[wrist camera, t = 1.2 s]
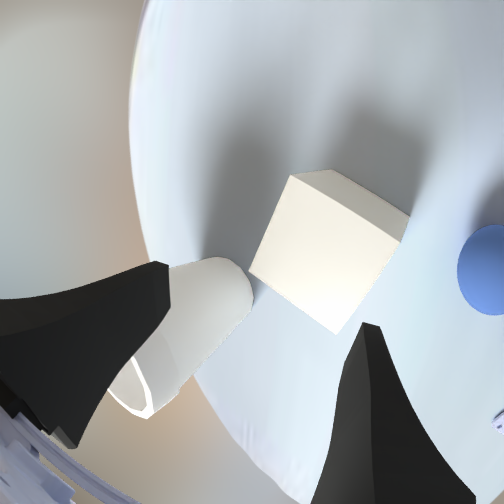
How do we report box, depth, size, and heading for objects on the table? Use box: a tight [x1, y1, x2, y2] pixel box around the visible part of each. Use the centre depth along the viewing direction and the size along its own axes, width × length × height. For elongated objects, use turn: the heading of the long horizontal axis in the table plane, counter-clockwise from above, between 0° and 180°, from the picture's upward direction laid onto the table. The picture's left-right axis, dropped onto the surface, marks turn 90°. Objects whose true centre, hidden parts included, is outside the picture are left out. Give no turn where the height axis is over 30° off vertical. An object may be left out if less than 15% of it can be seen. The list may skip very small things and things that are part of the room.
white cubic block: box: [249, 169, 410, 334], centre depth 17 cm, size 6×6×6 cm
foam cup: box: [107, 257, 254, 419], centre depth 22 cm, size 10×9×13 cm
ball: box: [457, 225, 504, 315], centre depth 13 cm, size 5×5×5 cm
